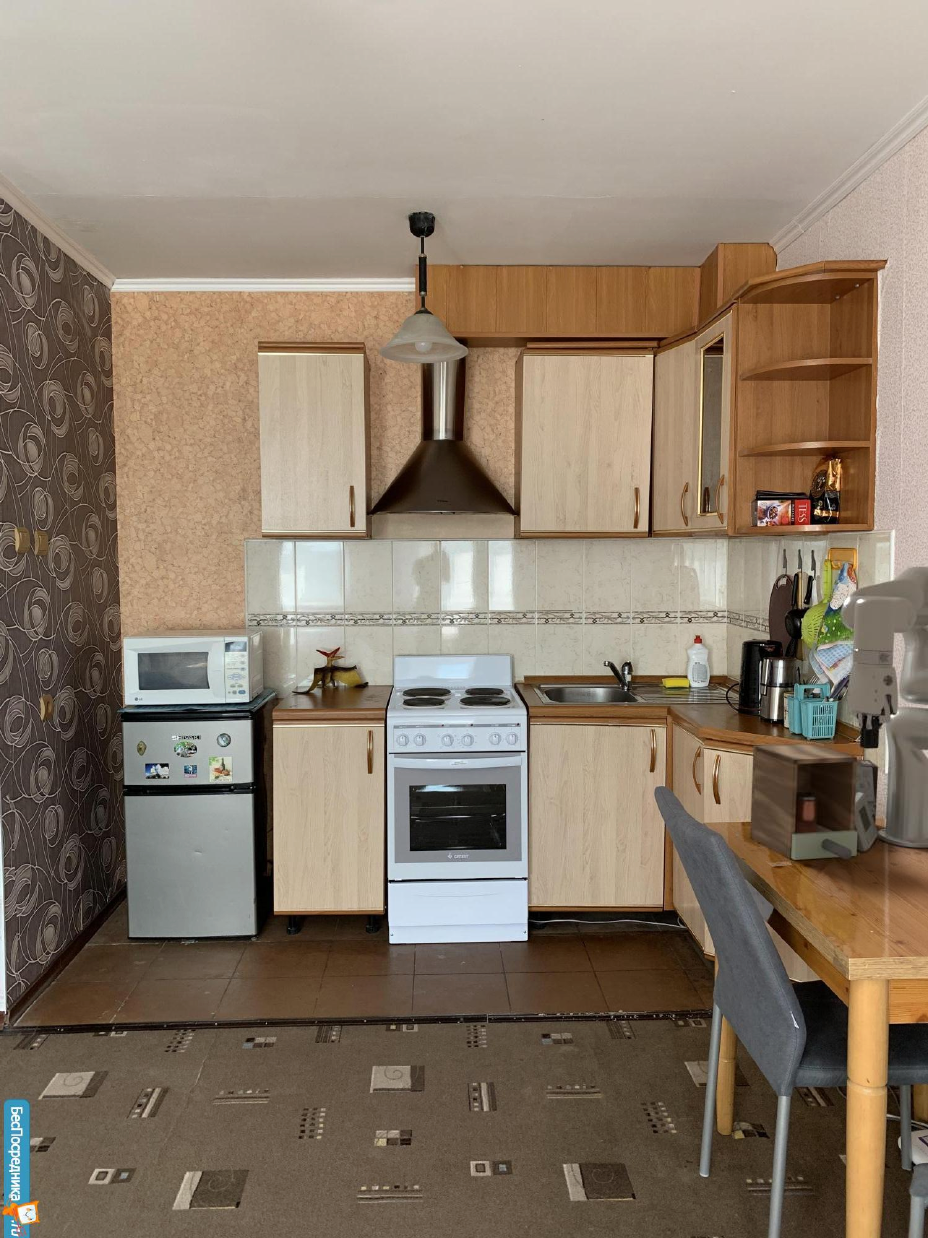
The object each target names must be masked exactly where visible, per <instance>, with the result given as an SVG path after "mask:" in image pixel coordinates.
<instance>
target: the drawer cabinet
mask: <svg viewBox="0 0 928 1238" xmlns="http://www.w3.org/2000/svg"><path fill="white" fill-rule="evenodd" d="M752 752H753V753H752V771H751V773H752V776H751V777H752V778H751V805H750V810H751V811H750V834H749V835H750V839H751V840H753V841H755V842H757V843H759V844H761V845H763V846H764V847H767V848H768V849H770V850H772V851H774V852H776V853H777V854H780V855H781V856H784V857H786V858H787V859H789V860H791V859H792V858H791V850H792V834H795V816H796V792H811V793H815V794H817V795H818V804H817V824H818V825H820V826H822V827H824V828H827V829H829V830H831V831H849V830H854V821H855V797H856V772H857V759H858V757H857V756H854V755H853V754H848V753H845V752H841V751H838V750H835V749H832V748H829V747H825V746H822V745H819V744H815V743H795V744H793V743H792V744H789V743H788V744H765V745H764V744H762V745H753V749H752ZM792 860H793V859H792Z"/></svg>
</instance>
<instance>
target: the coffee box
mask: <svg viewBox="0 0 928 1238" xmlns="http://www.w3.org/2000/svg"><path fill="white" fill-rule="evenodd" d="M878 775H879V766H878V765H877V764H875V763H874V762H872V760H870V759H860V758H859V759H858V758H857V772H856V793H858V792H861V793H863V794H865V797H866V800H867V803H868V806H869V808H870V811H871V814H872V817H873V820H874V823H875V825H876V821H877V802H878V801H877V798H878V780H879V779H878V778H879V776H878Z"/></svg>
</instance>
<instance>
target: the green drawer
mask: <svg viewBox="0 0 928 1238" xmlns="http://www.w3.org/2000/svg"><path fill="white" fill-rule="evenodd" d="M857 850H858V849H857V831H855V830H849V831H831V830H829V829H827V828H824V827H822V826H820V825H818V824H817V832H815V833H799V834H792V850H791V858H792V860H794V861H797V860H798V861H799V860H812V859H825V858H826V859H828V858H842V859H844V860H846V861H847V860H850V858H852V857H856V856H857Z"/></svg>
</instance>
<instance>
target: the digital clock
mask: <svg viewBox="0 0 928 1238" xmlns="http://www.w3.org/2000/svg"><path fill="white" fill-rule="evenodd" d="M854 830H855V831H857V850H858V851H860V852H866V851H868V850H869V849H870V848H871V846H872V845H873V843H874V842H875V840H876V838H877V837H878V832H879V831H878V829H877V826H876V824H875V823H874V820H873V817H872V814H871V811H870V808H869V806H868V803H867V800H866V797H865V794H863V793H861V792H858V793H856V797H855V821H854Z"/></svg>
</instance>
